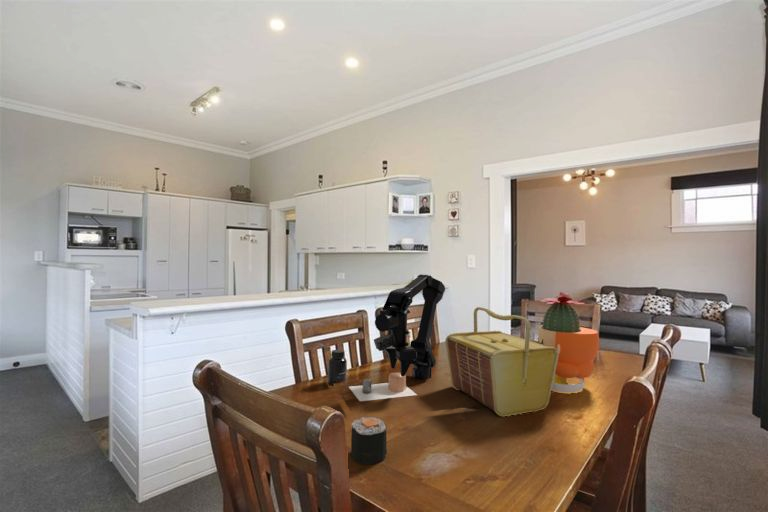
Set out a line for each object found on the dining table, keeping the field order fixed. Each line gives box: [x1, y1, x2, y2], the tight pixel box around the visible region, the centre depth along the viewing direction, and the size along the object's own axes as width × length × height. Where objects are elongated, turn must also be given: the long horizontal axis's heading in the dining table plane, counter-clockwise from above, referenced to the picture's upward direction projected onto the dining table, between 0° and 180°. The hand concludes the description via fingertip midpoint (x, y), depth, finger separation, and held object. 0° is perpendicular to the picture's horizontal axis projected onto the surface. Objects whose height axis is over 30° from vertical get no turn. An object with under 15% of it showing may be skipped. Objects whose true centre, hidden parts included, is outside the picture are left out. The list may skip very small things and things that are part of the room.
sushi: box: [350, 416, 388, 466], centre depth 92 cm, size 8×8×8 cm
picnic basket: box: [445, 306, 559, 418], centre depth 130 cm, size 29×26×30 cm
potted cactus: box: [537, 291, 601, 392], centre depth 147 cm, size 22×22×35 cm
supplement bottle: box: [327, 349, 348, 387], centre depth 143 cm, size 7×7×12 cm
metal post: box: [362, 378, 372, 394], centre depth 130 cm, size 3×3×4 cm
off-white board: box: [348, 382, 418, 402], centre depth 132 cm, size 20×14×2 cm
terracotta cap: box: [387, 371, 407, 392], centre depth 134 cm, size 6×6×5 cm
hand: (397, 372), depth 134 cm, fingers open, 9 cm apart
